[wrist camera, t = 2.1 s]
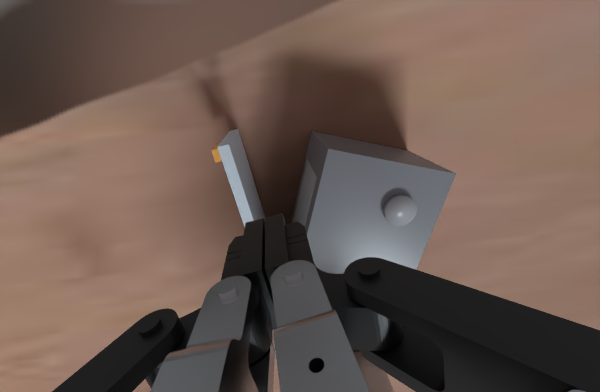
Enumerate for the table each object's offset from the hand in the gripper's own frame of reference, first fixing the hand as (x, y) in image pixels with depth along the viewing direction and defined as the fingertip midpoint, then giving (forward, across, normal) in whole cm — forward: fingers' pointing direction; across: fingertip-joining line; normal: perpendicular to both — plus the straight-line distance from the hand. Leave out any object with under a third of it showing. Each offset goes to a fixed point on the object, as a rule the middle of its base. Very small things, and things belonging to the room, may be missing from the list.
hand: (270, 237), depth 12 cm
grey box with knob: (+17, -6, +8) cm, 20 cm away
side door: (+17, +3, +5) cm, 18 cm away
